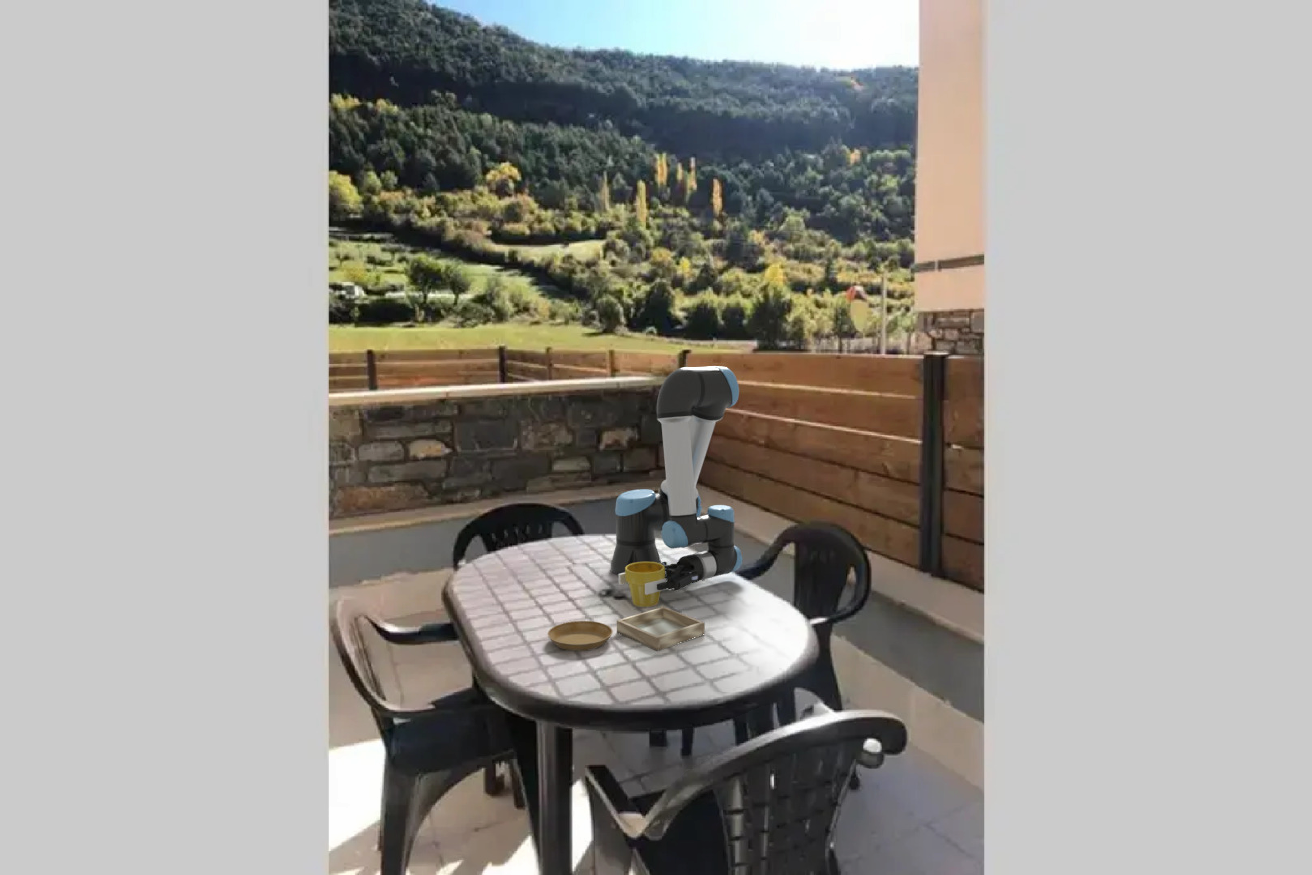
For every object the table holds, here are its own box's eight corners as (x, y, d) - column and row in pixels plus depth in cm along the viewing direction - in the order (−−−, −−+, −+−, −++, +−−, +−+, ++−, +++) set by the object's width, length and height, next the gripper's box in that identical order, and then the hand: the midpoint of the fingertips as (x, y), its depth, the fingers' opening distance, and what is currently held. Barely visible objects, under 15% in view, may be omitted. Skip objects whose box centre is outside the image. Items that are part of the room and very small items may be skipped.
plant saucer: (553, 630, 191) (553, 620, 190) (615, 631, 190) (615, 620, 190) (542, 655, 176) (542, 643, 176) (609, 655, 175) (609, 644, 175)
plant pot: (621, 608, 205) (621, 571, 203) (629, 595, 215) (629, 560, 213) (661, 610, 203) (661, 573, 202) (667, 597, 213) (667, 562, 212)
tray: (663, 618, 198) (663, 606, 197) (704, 634, 187) (704, 622, 186) (616, 632, 188) (616, 620, 188) (656, 651, 177) (656, 638, 177)
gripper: (725, 590, 211) (661, 609, 197) (668, 571, 229) (606, 587, 214) (725, 563, 210) (661, 580, 196) (668, 546, 228) (605, 560, 213)
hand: (632, 584), depth 205 cm, fingers closed on plant pot, 10 cm apart
